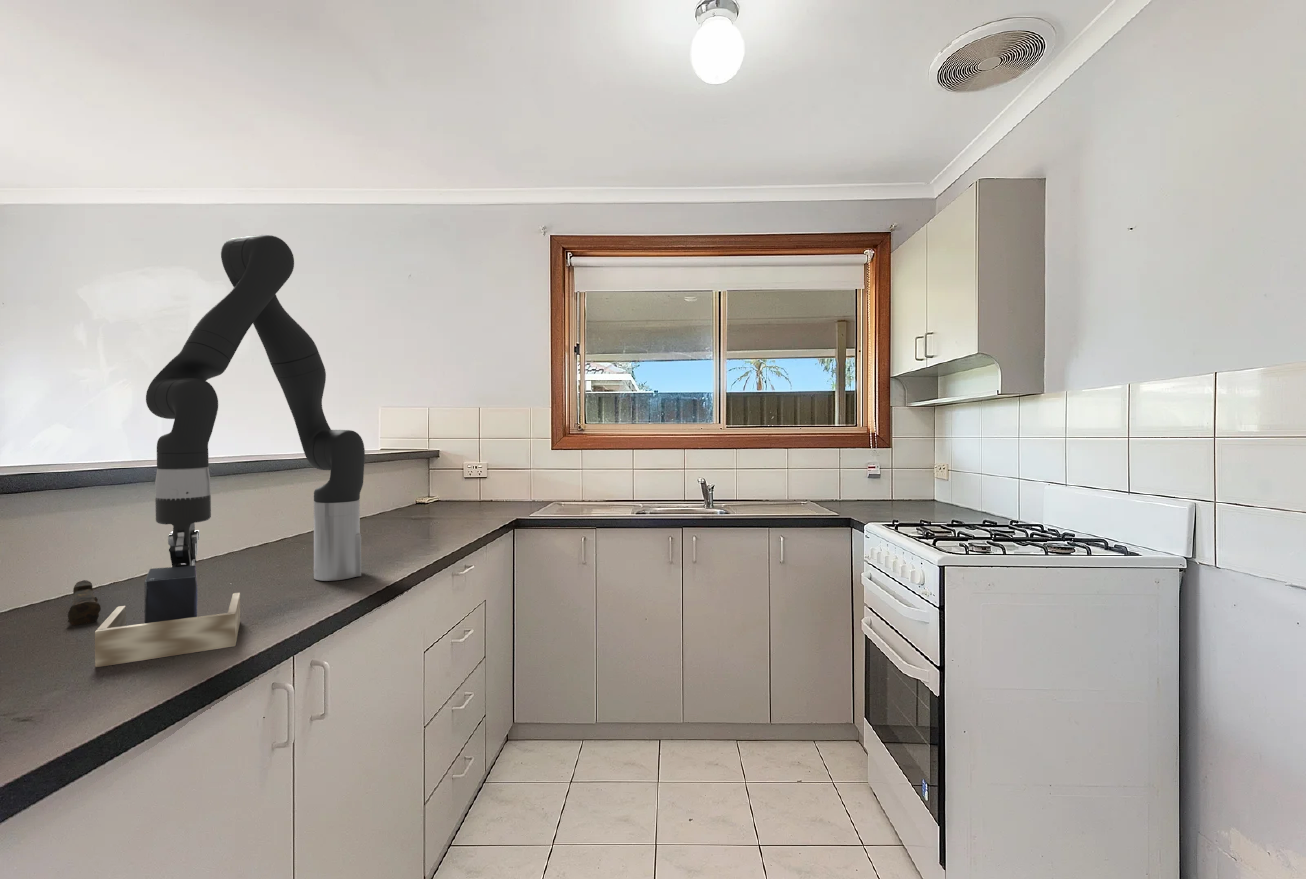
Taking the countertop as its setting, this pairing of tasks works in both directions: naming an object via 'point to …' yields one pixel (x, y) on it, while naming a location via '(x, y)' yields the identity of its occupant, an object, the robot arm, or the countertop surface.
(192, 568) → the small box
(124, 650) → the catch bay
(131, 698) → the countertop surface
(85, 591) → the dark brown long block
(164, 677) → the countertop surface
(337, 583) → the countertop surface
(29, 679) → the countertop surface
